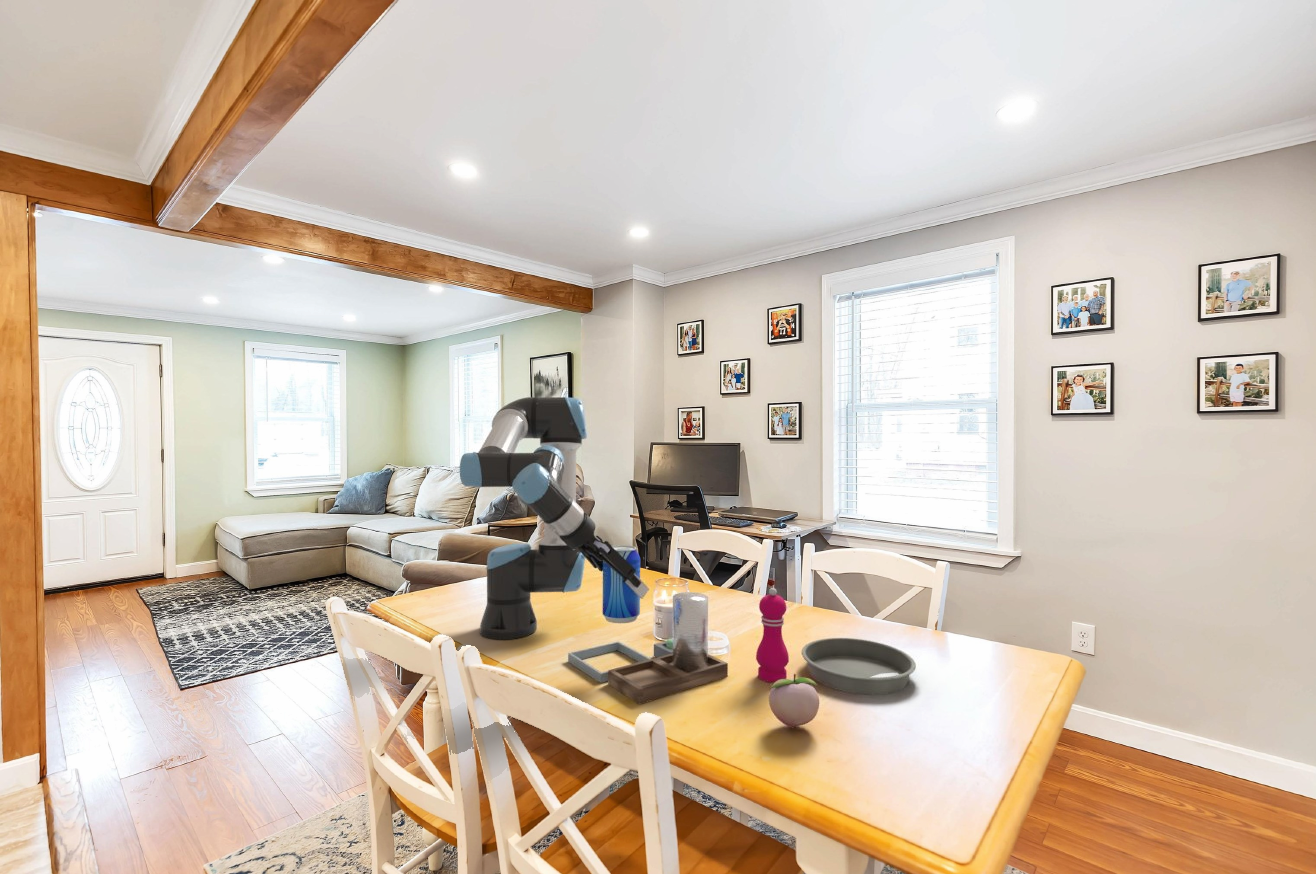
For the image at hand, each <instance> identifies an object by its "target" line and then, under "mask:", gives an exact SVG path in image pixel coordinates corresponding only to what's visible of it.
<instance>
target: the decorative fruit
mask: <svg viewBox="0 0 1316 874" xmlns="http://www.w3.org/2000/svg"><path fill="white" fill-rule="evenodd" d="M813 685H814V686H818V685H817V683H816V682H815V681H814V680H813V679H811V678H808V677H797V674H796V673H794V674H793V677H792V678H791V679H788V678H786V679H780V680H778V681H776V682H775V683H773V684H772V685H771V686H770V691H769V695H768V704H769V707H770V710H771V712H772V715H774V716H775V718H776V719H777V720H778V721H780V723H782V724H784V725H785V726H788V727H790V728H793V729H795V728H797V727H800V726H804V725H807V724H808V723H810V722H812V721H813V720H814V719H815V717H816V716H817V714H818V712H819V707H820V697H819V694H818V692H817V691H816V688H815V687H814V686H813Z"/></svg>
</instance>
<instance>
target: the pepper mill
mask: <svg viewBox="0 0 1316 874" xmlns="http://www.w3.org/2000/svg"><path fill="white" fill-rule="evenodd" d="M777 593H778V591H777V589H776V588H774V587H772V588H769V590H768V594H766V595H764V596H763V597H762V598H761V599H760V600H759V604H758V606H759V607H758V608H759V611H760V613H761V614H762V615H761V617H760V618H761V621H760V622H761V624H762V627H763V632H762V633H763V634H762V638H761V640H760V643H759V645H758V647H757V649H756V653H755V660H756V662H757V664H758V665H759V667H758V669H757V670H758V671H757V673H758V675H757V676H758V678H759V679H760V680H762V681H764V682H767V683H773V684H774V683H775V682H776V681H778V680H780V679H788V678H787V672H788V671H787V669H786V666H787V665H789V664H788V663H789V661H790V659H789V656H790V655H789V652H788V649H787V646H786V644H785V642H784V639H783V634H782V632H783V631H782V629H783V625H784V624H785V621H784V620H785V617H784V615H785V614H786V611H787V602H786V601H785V599H784V598H783V597H782V596H780V595H777Z"/></svg>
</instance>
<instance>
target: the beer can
mask: <svg viewBox="0 0 1316 874" xmlns="http://www.w3.org/2000/svg"><path fill="white" fill-rule="evenodd" d="M611 546H612V547H613V548H614V549H615V550H616V551H617V552H618V553H619V554H620V555H621V556H622V557H623V558H624V559H625V560H626V561H627V562H628V563H629V564H630V565H631V566H632V567H633V568H635V569H636V572H635V574H636V575H637V576H638V577H639V578H640V579H641V557H640V554H639V553H638V551H637V547H636V546H631V545H611ZM622 581H623V577H621V576H620V575H619V574H618V573H617V572H616V571H614V570H613V569H612V568H611V567H610V566H608V565H607V564H606V563H605V562H604V561H603V571H602V616H603V617H604V618H605V620H606V621H607V622H608V623H612V624H629V623H633V622H635V621H636V620H637V619H638V617H639V616H640V613H641V598H640V597H639V596H638V595H637V594H636V593H635V592H634V591H633V590H632V589H631V588H630V587H629V586H628V585H627V584H626V583H623V582H622Z"/></svg>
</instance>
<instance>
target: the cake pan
mask: <svg viewBox="0 0 1316 874" xmlns="http://www.w3.org/2000/svg"><path fill="white" fill-rule="evenodd" d="M801 655H802V657H803V659H804V660H805V662H806V664H807V668H808V672H809V674H810V676H811V677H812V678H814V680H816V681H817V682H819V683H820V684H822V685H825V686H827V687H830V688H832V689H836V690H839V691H843V692H848V693H854V694H859V695H861V694H862V695H886V694H892V693H896V692H899V691H901V690H903V689H904V688H905V687H906V686H907V684H908V682H909V678H910V675H911V674H913V673H914V672H915V670H916V668H917V664H916V661H915V660H914V658H913V657H912V656H911V655H909V654H907V653H906V652H905V651H903V650H901V649H898V648H896V647H895V646H892V645H888V644H885V643H881V642H877V641H873V640H867V639H862V638H853V637H852V638H851V637H830V638H821V639H817V640H814V641H811V642H808V643H807V644H805V645H804V646H803V647H802V648H801ZM881 674H883V675H884V674H897V675H892V676H883V677H882V676H880V677H879V676H878V675H881ZM877 676H878V677H877Z"/></svg>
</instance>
